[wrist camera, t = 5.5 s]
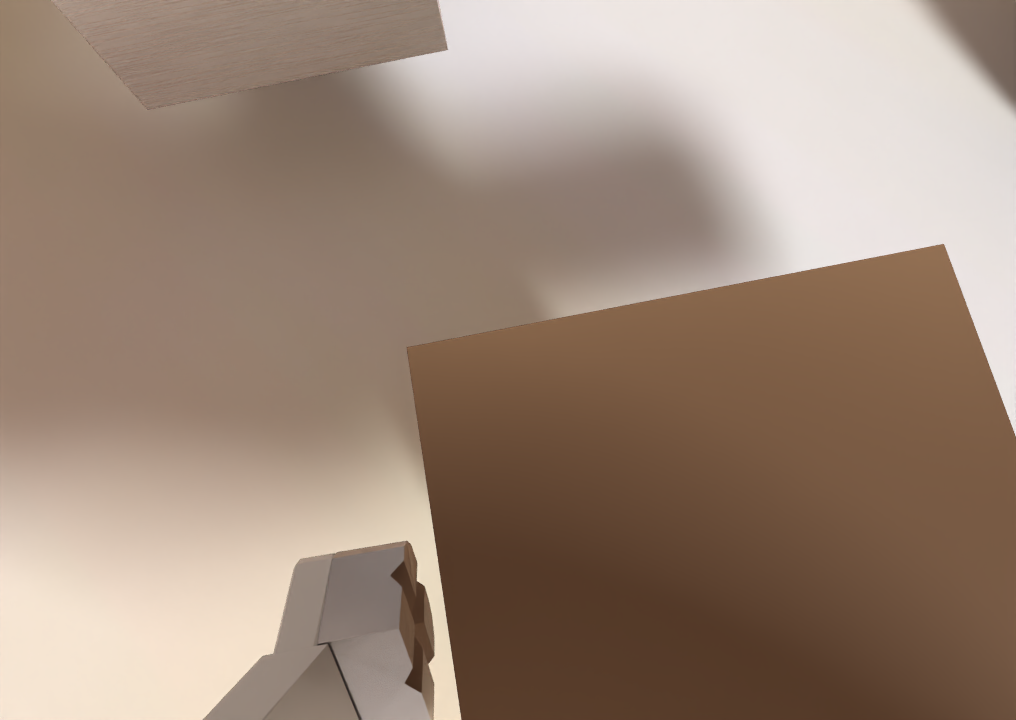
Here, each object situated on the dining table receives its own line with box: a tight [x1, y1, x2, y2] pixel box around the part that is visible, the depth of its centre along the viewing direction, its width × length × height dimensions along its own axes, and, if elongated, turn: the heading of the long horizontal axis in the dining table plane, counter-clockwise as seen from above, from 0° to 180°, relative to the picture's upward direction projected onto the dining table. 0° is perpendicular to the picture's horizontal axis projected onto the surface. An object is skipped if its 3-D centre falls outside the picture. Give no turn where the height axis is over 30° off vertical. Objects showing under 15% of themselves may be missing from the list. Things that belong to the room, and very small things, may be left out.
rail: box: [407, 244, 1016, 720], centre depth 11 cm, size 4×4×14 cm
